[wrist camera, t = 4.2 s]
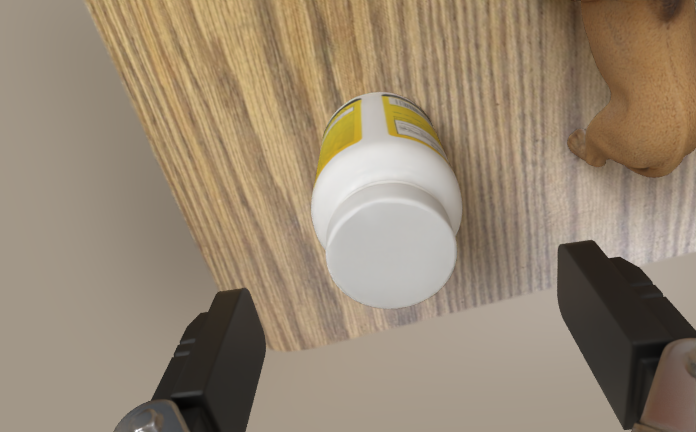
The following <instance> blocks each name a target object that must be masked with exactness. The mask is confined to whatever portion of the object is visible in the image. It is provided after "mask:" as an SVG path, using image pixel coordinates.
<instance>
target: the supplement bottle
mask: <svg viewBox="0 0 696 432" xmlns="http://www.w3.org/2000/svg"><path fill="white" fill-rule="evenodd" d="M311 216H312V222H313V226H314V229H315V232H316V235H317V237H318V239H319V241H320V243H321V245H322V246H323V248H324V249H325V250H326V262H327V267H328V270H329V273H330V275H331V277H332V279H333V281H334V282H335V284H336V285H337V286H338V287H339V288H340V289H341V290H342V291H343V292H344V293H345V294H346V295H347V296H349V297H350V298H352V299H353V300H355V301H357V302H359V303H361V304H364V305H367V306H370V307H375V308H381V309H399V308H405V307H409V306H413V305H416V304H418V303H421V302H423V301H425V300H427V299H428V298H430V297H432V296H433V295H434V294H436V293H437V292H438V291H439V290H440V289H441V288H442V287H443V286H444V285H445V284H446V282H447V281H448V280H449V278H450V276H451V275H452V272H453V270H454V267H455V264H456V259H457V243H456V238H455V237H456V235H457V232H458V230H459V227H460V223H461V219H462V198H461V192H460V188H459V185H458V181H457V179H456V176H455V174H454V172H453V170H452V167H451V165H450V163H449V161H448V159H447V156H446V154H445V152H444V150H443V147H442V145H441V143H440V141H439V139H438V136H437V134H436V132H435V130H434V128H433V125H432V123H431V121H430V120H429V118H428V117H427V116H426V114H425V113H424V112H423V111H422V110H421V109H420V108H419V107H418V106H417V105H416V104H415V103H413V102H412V101H410V100H409V99H407V98H405V97H402V96H400V95H397V94H393V93H387V92H373V93H367V94H363V95H360V96H358V97H355V98H353V99H351V100H350V101H348V102H347V103H345V104H344V105H343V106H341V107H340V108H339V109H338V110H337V111H336V112H335V113H334V115H333V116H332V118H331V119H330V121H329V123H328V125H327V127H326V129H325V132H324V135H323V140H322V144H321V150H320V157H319V162H318V168H317V173H316V178H315V183H314V188H313V193H312V203H311Z"/></svg>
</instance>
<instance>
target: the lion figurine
mask: <svg viewBox="0 0 696 432" xmlns="http://www.w3.org/2000/svg"><path fill="white" fill-rule="evenodd" d="M571 1H577V0H571ZM579 1H581V10H582V18H583V23H584V28H585V31H586V34H587V37H588V40H589V44H590V48H591V51H592V54H593V57H594V59H595V62H596V65H597V67H598V69H599V71H600V73H601V75H602V76H603V78H604V80H605V81H606V83H607V84H608V86H609V88H610V91H611V100H610V102H609V104H608V105H607V106H606V107H605V108H604V109H603V110H601V111H600V112H599V113H598V114H597V115H596V116H595V117H594V119H593V120H592V121H591V123H590V124H589V126H588V128H587V129H576V130H575V132H573V133H572V134H571V135H570V136H569V138H568V141H567V145H568V147H569V149H570V150H571V151H572V152H573V153H574V154H575V155H577V156H578V157H580V158H581V159H583V160H585V161H586V162H587V163H588V164H589V165H592V166H595V167H602V166H604V165H605V164H606V160H607V159H611V160H614V161H616V162H618V163H620V164H623V165H625V166H626V167H627V168H628V169H630V170H632V171H634V172H635V173H638V174H640V175H643V176H646V177H652V178H655V177H662V176H665V175H668V174H669V173H671V172H672V171H673V170H674V169H675V168H676V167H677V166H678V165H679V164H680V163H681V161H682V160H683V158H684V157H685V156H686V155H688V154H690V153H691V152H692V151H694V150H695V148H696V14H695V4H694V0H579Z"/></svg>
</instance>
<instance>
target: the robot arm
mask: <svg viewBox="0 0 696 432" xmlns="http://www.w3.org/2000/svg"><path fill="white" fill-rule="evenodd" d="M557 296H558V304H559V308H560V312H561V315H562V317H563V319H564V321H565V323H566V325H567V327H568V329H569V331H570V332H571V334H572V336H573V338H574V340H575V342H576V343H577V345H578V347H579V349H580V351H581V352H582V354H583V356H584V358H585V360H586V361H587V363H588V365H589V367H590V369H591V371H592V372H593V374H594V376H595V378H596V380H597V382H598V383H599V385H600V387H601V389H602V390H603V392H604V394H605V396H606V398H607V400H608V402H609V403H610V405H611V407H612V409H613V411H614V413H615V414H616V416H617V418H618V420H619V422H620V423H621V425H622V427H623V429H624V430H629V429H632V431H631V432H696V330H695V329H694V328H693V327H692V326H691V325H690V324H689V322H687V320H686V319H685V318H684V317H683V316H682V315H681V313H680V312H679V311H678V310H677V309H676V308H675V307H674V306H673V304H672V303H671V302H670V301H669V300H668V299H667V298H666V297H663V293H662V292H661V291H660V290H659V289H658V288H657V287H656V286H655V285H653V283H652V281H651V280H650V279H649V278H648V276H647V275H646V274H645V273H644V272H643V271H642V270H641V269H640V268H639V267H637V266H636V265H634V264H632V263H630V262H628V261H627V260H625V259H623V258H621V257H614V258H608V257H607V256H606V255H605V253H604V252H603V251H602V250H601V249H600V247H599V246H598V245H597V244H596V242H595V241H593V240H587V241H580V242H573V243H566V244H560V245H559V247H558V274H557ZM265 352H266V341H265V335H264V331H263V328H262V325H261V322H260V320H259V317H258V314H257V311H256V308H255V305H254V303H253V300H252V297H251V294H250V292H249V290H248V289H247V288H241V289H234V290H227V291H220V292H218V293H217V294H216V296H215V298H214V300H213V302H212V305H211V307H210V309H209V311H208V312H205V313H200V314H199V315H198V316H197V317H196V318H195V319H194V320H193V321H192V322H191V323H190V324H189V326H188V327H187V328H186V330H185V332H184V334H183V336H182V338H181V340H180V345H178V346H177V348H176V351H175V353H174V357H172V359H171V361H170V363H169V365H168V367H167V369H166V371H165V373H164V375H163V377H162V379H161V381H160V383H159V385H158V387H157V389H156V391H155V393H154V395H153V397H152V399H151V401H148V402H146V403H143V404H141V405H140V406H138V407H136V408H135V409H133V410H132V411H130V412H129V413H128V414H127V415H126V416H125V417H124V418H123V419H122V420H121V421H120V422H119V423H118V425H117V427H116V428H115V430H114V432H245V431H246V427H247V424H248V420H249V416H250V412H251V408H252V404H253V400H254V396H255V393H256V389H257V384H258V381H259V377H260V373H261V369H262V365H263V362H264V358H265Z"/></svg>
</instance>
